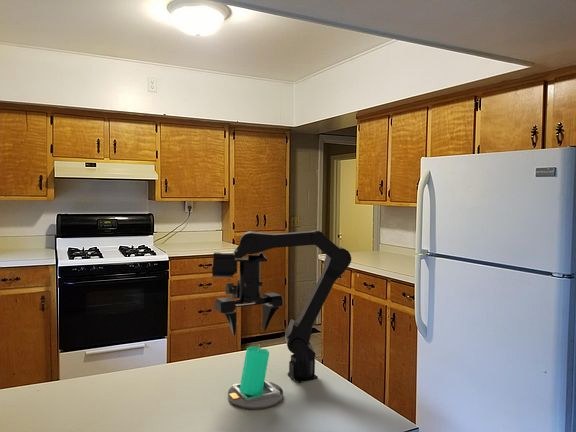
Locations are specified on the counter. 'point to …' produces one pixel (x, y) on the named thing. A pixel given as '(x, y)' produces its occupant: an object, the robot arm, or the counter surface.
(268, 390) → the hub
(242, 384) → the candle
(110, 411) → the counter surface
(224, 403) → the counter surface
